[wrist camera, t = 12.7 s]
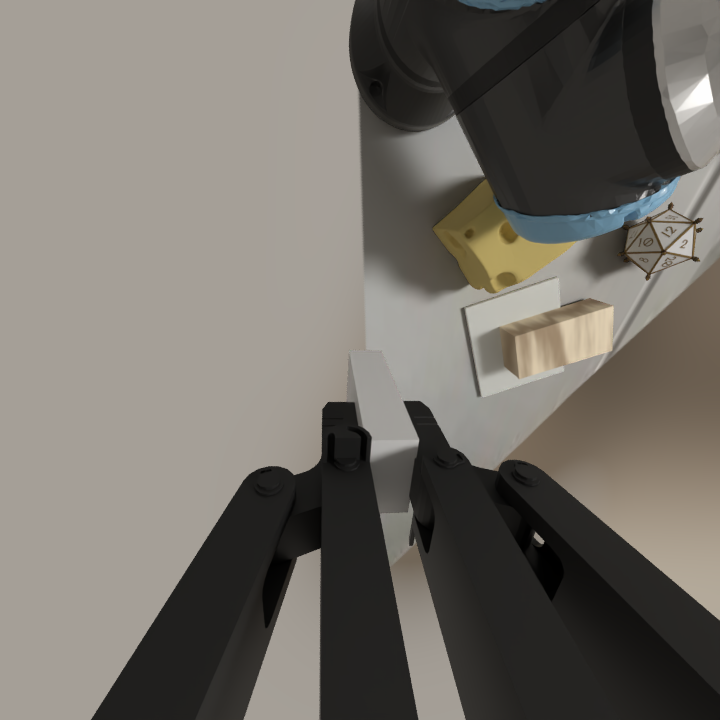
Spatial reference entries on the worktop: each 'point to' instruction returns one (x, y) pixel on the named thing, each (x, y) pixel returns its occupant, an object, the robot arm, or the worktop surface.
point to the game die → (661, 241)
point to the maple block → (557, 337)
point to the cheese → (491, 244)
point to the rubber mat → (487, 332)
